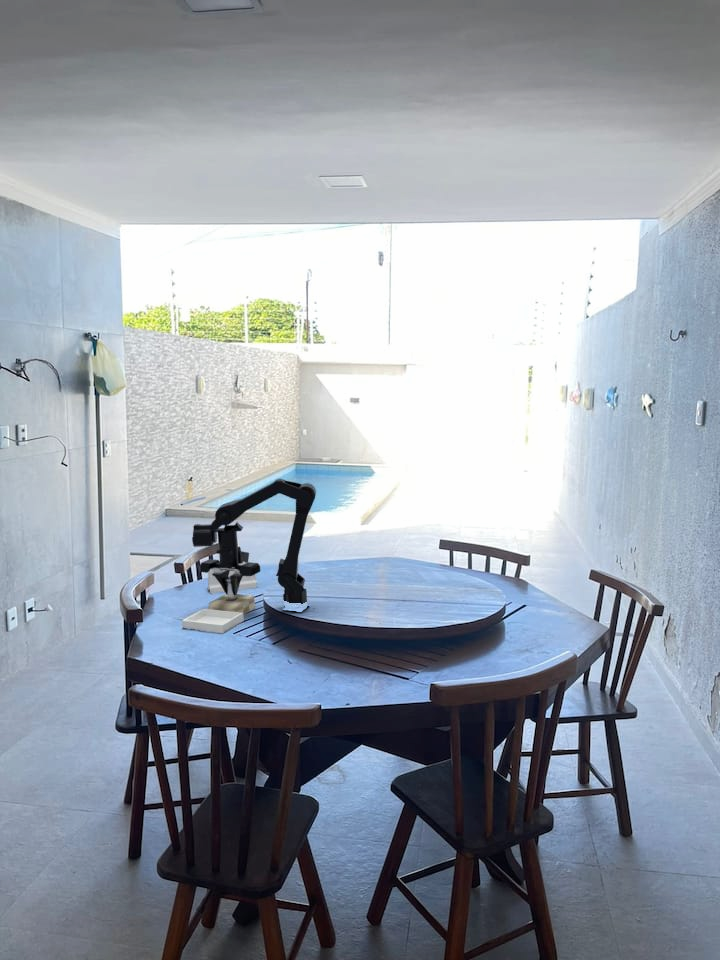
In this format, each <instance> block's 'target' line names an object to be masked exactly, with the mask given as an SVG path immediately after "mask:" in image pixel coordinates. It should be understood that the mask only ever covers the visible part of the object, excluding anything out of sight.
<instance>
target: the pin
mask: <svg viewBox="0 0 720 960" xmlns="http://www.w3.org/2000/svg"><path fill="white" fill-rule="evenodd" d="M225 581H226V582H227V593H228V601H235V600H236V595H234V594H233V590H232V584H231V579H230V577H226V578H225Z"/></svg>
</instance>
